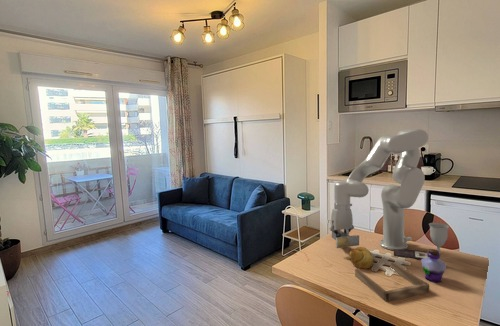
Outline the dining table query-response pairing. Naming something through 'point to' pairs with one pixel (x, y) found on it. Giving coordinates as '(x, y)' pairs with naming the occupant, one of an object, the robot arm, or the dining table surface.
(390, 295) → the walnut frame
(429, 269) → the potion bottle
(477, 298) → the dining table surface
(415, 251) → the chocolate bar
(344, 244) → the grey t-shaped block
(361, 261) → the bread roll
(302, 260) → the dining table surface
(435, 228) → the chalice
